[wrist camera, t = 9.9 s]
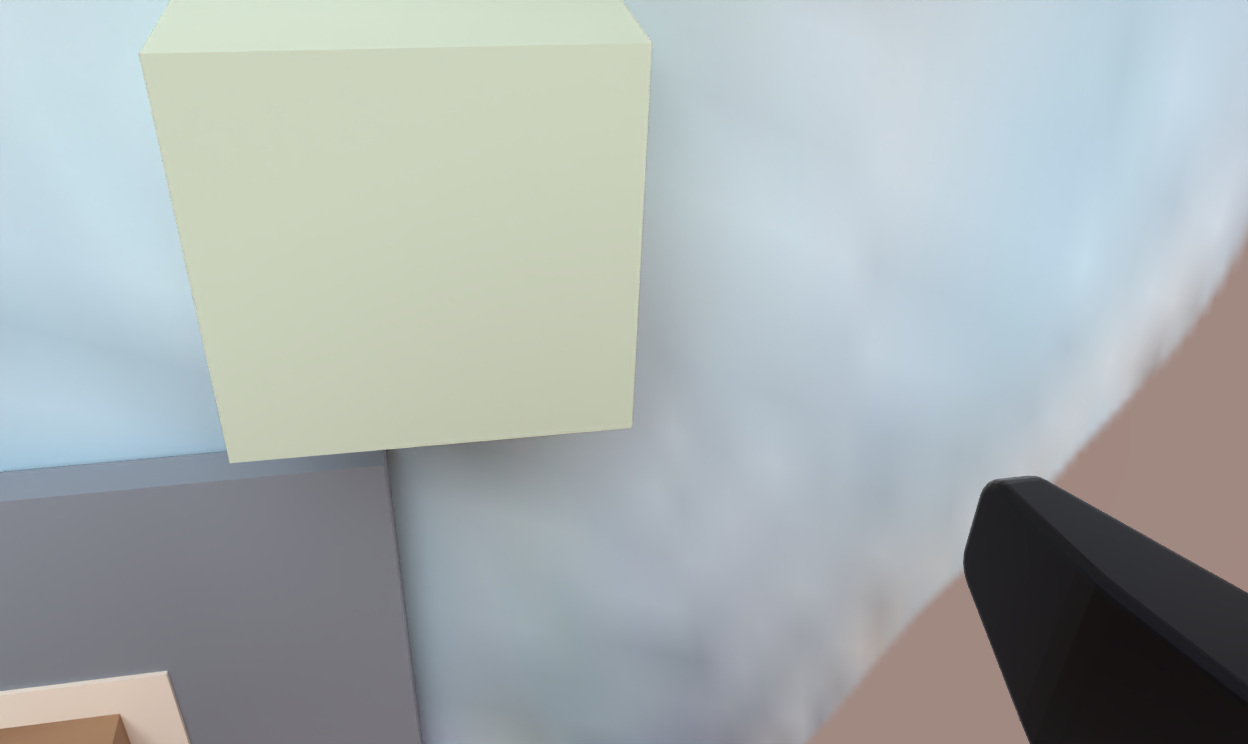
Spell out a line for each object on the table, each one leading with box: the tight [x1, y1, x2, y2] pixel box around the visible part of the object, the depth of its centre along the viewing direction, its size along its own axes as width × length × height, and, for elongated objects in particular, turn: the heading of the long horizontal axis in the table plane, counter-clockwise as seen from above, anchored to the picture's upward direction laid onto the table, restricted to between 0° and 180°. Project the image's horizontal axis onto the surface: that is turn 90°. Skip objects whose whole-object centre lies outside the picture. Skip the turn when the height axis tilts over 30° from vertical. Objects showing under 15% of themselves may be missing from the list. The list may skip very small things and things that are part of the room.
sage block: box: [139, 0, 652, 463], centre depth 14 cm, size 5×5×5 cm
